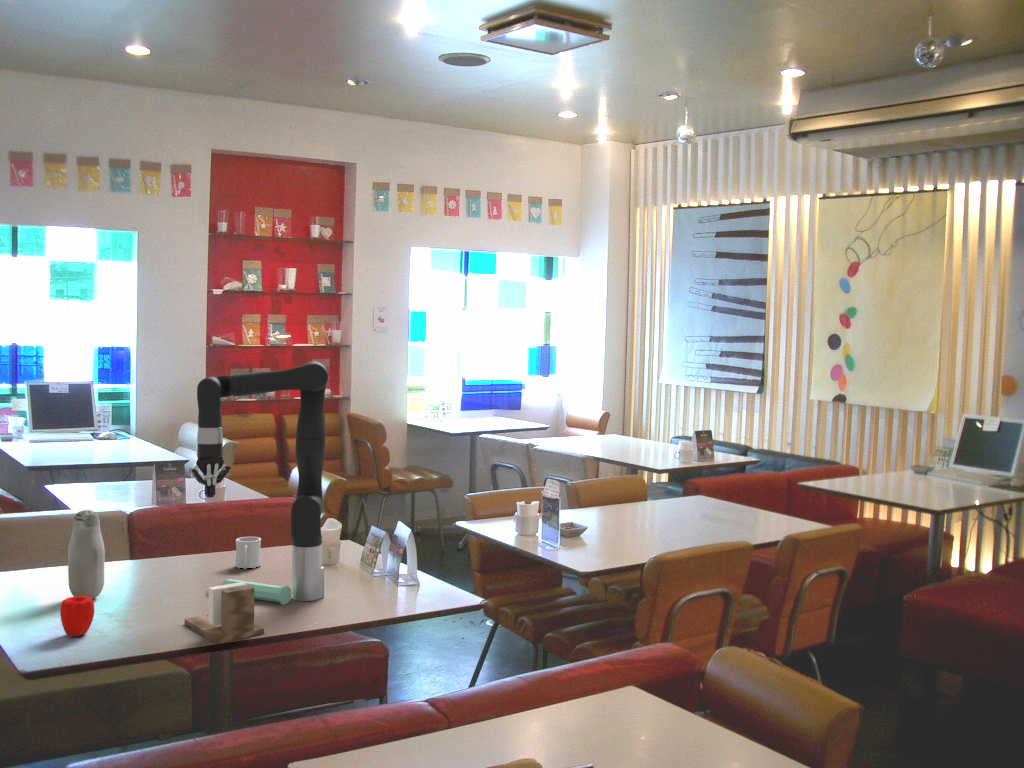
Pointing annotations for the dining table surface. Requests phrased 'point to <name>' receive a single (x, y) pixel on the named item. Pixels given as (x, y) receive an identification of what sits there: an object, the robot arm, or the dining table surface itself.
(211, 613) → the white square block
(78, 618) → the apple
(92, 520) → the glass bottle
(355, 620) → the dining table surface
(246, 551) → the mug
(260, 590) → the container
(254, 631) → the rod rig
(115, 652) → the dining table surface
